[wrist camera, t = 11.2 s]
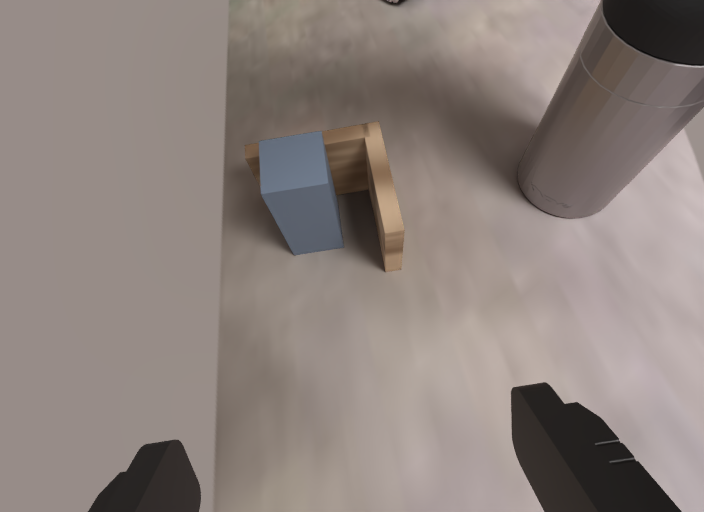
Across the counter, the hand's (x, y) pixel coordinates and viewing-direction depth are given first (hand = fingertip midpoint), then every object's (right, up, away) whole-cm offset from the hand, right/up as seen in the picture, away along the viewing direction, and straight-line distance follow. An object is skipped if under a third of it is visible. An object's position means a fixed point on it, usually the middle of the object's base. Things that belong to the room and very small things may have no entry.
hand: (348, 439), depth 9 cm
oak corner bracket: (-2, +7, +30) cm, 31 cm away
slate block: (-4, +7, +30) cm, 31 cm away
